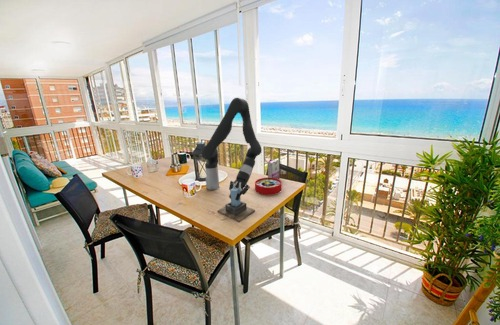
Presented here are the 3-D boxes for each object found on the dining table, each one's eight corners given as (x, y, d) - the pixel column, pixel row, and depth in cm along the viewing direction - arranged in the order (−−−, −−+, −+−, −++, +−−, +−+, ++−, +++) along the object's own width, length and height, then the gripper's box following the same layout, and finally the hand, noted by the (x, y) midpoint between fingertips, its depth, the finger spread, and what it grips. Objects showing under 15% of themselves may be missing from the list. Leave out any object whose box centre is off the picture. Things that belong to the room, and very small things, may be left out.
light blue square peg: (231, 205, 117) (230, 189, 114) (235, 202, 120) (234, 187, 117) (236, 206, 115) (235, 191, 112) (240, 204, 118) (239, 188, 115)
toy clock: (257, 177, 159) (282, 177, 155) (257, 183, 160) (282, 184, 156) (252, 187, 140) (281, 188, 136) (253, 194, 141) (281, 195, 138)
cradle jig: (217, 211, 119) (216, 204, 118) (233, 203, 129) (233, 196, 128) (239, 221, 108) (238, 213, 107) (255, 211, 118) (254, 203, 117)
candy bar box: (274, 176, 174) (274, 158, 169) (279, 177, 171) (279, 159, 166) (267, 180, 166) (267, 161, 161) (272, 181, 163) (272, 162, 158)
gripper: (232, 168, 122) (220, 194, 116) (251, 172, 114) (239, 199, 108) (238, 174, 128) (227, 198, 121) (256, 178, 120) (246, 204, 113)
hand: (233, 199), depth 115 cm, fingers closed on light blue square peg, 4 cm apart
